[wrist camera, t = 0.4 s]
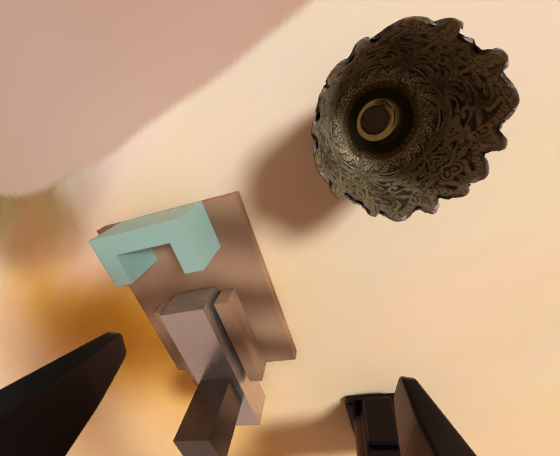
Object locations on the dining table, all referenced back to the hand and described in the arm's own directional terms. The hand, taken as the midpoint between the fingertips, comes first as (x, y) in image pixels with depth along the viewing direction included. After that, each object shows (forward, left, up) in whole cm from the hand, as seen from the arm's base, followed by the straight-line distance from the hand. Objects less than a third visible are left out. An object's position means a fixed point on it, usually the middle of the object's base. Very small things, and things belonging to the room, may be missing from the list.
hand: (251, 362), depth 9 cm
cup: (+5, -7, -14) cm, 16 cm away
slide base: (-6, +10, -14) cm, 18 cm away
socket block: (+1, +10, -14) cm, 17 cm away
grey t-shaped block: (-12, +10, -13) cm, 20 cm away
